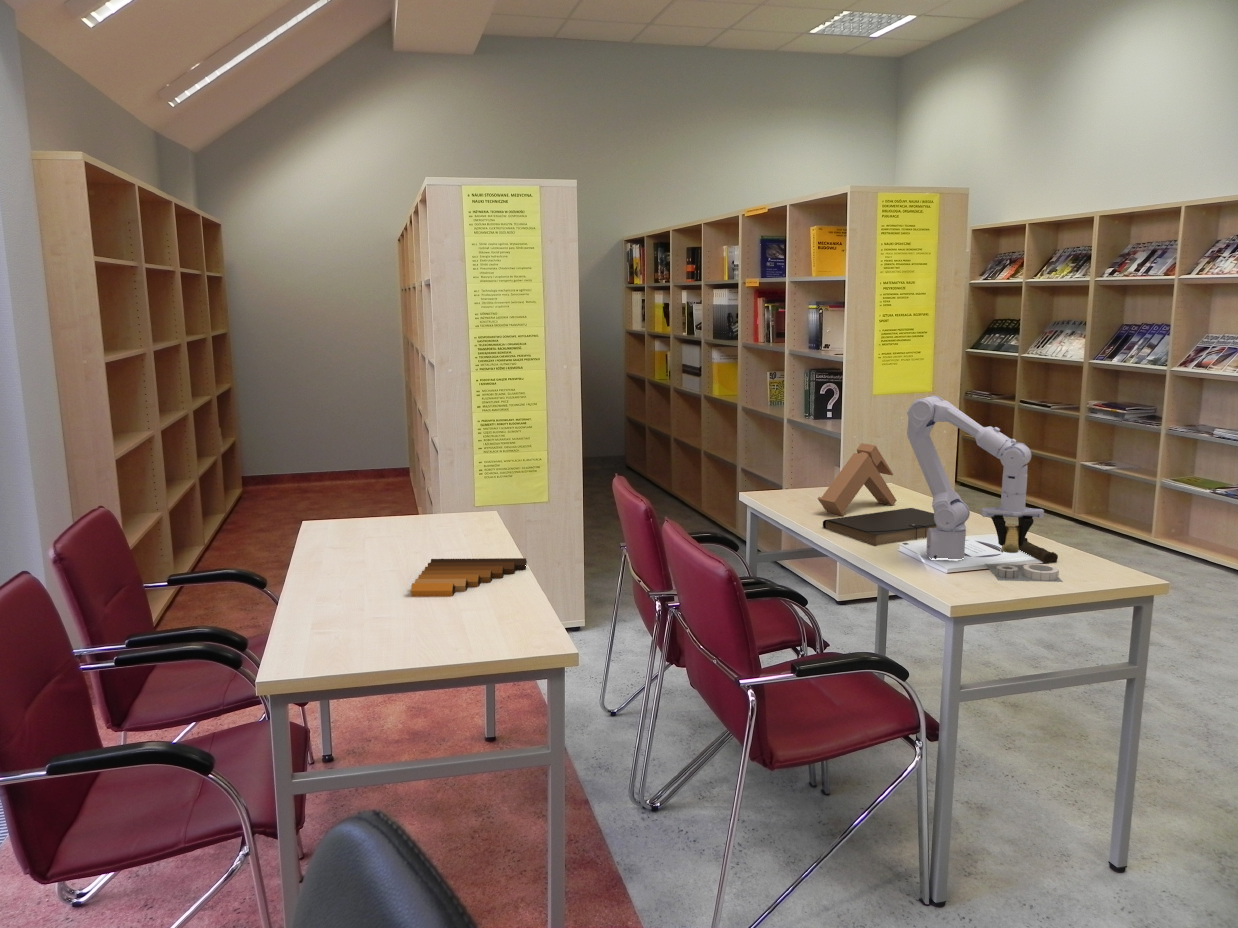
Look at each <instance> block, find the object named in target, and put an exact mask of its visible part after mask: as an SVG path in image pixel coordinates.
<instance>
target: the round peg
mask: <svg viewBox="0 0 1238 928" xmlns="http://www.w3.org/2000/svg"><path fill="white" fill-rule="evenodd" d="M1019 538H1020V526H1019V525H1018V524H1015V523H1014V524H1012V523H1006V524H1005V529H1004V544H1003V546H1001V552H1003V553H1009V554H1017V553H1019V551H1020V550H1019Z"/></svg>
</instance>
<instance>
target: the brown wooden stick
mask: <svg viewBox="0 0 1238 928" xmlns="http://www.w3.org/2000/svg"><path fill="white" fill-rule="evenodd" d="M1020 550H1021V551H1020ZM1019 551H1020V552H1022V551H1023V552H1022V553H1024V552H1025V553H1024V554H1026V553H1027V554H1026V555H1028V554H1029V555H1028V556H1030V555H1031V556H1030V557H1032V558H1033V559H1036V560H1039V561H1040V562H1042V564H1055V563H1057V562H1058V557H1059V555H1058V554H1057V553H1056V552H1054V551H1052V552H1051V551H1049V550H1047V549H1045V548H1043V547H1040V546H1038V545H1035V544H1033V543H1031V542H1029V539H1028V538H1027V537H1025V539H1024V542H1023V546H1019Z"/></svg>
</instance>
